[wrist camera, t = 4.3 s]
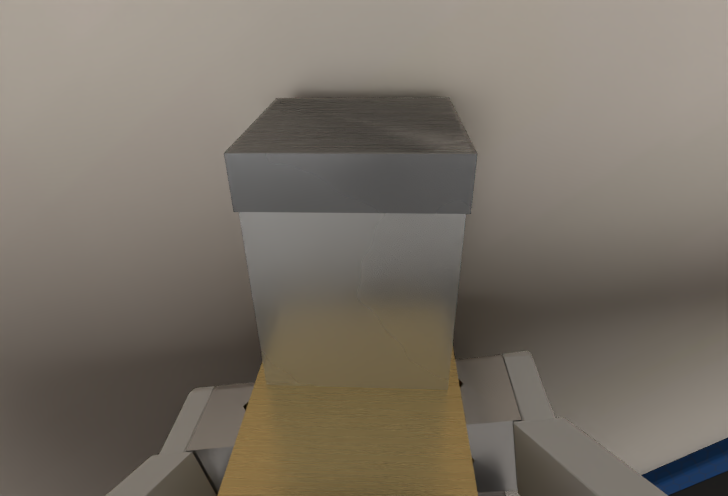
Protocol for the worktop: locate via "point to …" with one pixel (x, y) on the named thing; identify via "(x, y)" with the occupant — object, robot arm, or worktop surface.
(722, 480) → the cell phone
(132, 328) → the worktop surface
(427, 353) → the gold-banded square post
